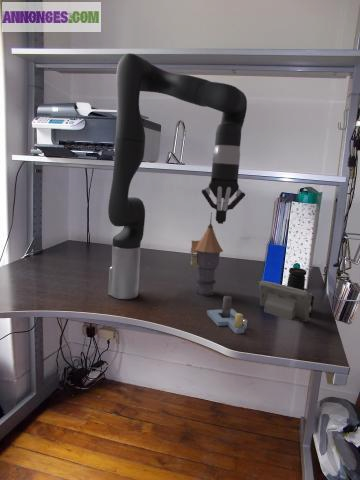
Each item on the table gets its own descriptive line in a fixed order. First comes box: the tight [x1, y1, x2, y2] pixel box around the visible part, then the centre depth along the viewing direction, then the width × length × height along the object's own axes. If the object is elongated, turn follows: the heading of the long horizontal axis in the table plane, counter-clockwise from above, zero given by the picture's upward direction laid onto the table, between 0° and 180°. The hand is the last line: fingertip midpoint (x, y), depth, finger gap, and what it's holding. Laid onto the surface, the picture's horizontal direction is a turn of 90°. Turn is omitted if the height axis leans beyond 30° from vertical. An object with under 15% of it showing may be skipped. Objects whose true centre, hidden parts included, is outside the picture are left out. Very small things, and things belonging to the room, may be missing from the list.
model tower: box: [190, 212, 224, 297], centre depth 127 cm, size 10×11×30 cm
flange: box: [206, 308, 245, 335], centre depth 106 cm, size 14×8×5 cm, turn 17°
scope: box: [286, 267, 315, 318], centre depth 122 cm, size 8×14×10 cm
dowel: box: [242, 318, 248, 330], centre depth 103 cm, size 1×1×3 cm
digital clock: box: [258, 280, 310, 323], centre depth 116 cm, size 16×9×11 cm, turn 42°
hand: (220, 223), depth 108 cm, fingers closed
